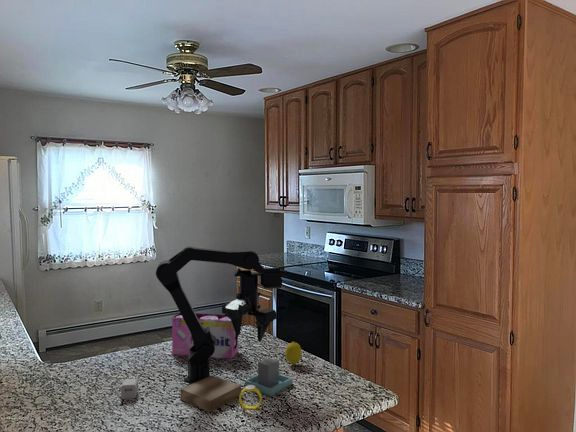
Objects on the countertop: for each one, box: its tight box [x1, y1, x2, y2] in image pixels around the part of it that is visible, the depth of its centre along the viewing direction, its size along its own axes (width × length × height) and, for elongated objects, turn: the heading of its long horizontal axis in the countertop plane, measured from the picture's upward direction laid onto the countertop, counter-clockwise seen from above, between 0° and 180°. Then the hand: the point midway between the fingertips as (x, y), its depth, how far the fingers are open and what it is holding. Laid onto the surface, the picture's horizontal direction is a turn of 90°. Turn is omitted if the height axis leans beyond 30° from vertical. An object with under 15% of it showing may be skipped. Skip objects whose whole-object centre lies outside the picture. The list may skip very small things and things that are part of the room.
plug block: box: [257, 357, 280, 388], centre depth 136 cm, size 4×5×7 cm
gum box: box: [171, 312, 239, 360], centre depth 163 cm, size 24×8×14 cm, turn 79°
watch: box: [238, 385, 263, 410], centre depth 122 cm, size 6×3×6 cm, turn 85°
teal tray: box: [244, 373, 293, 397], centre depth 136 cm, size 10×10×2 cm
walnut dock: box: [179, 374, 242, 412], centre depth 128 cm, size 12×12×3 cm
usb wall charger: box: [120, 378, 139, 400], centre depth 130 cm, size 4×7×4 cm, turn 11°
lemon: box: [284, 341, 303, 366], centre depth 153 cm, size 6×6×8 cm
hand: (248, 338), depth 143 cm, fingers open, 9 cm apart
